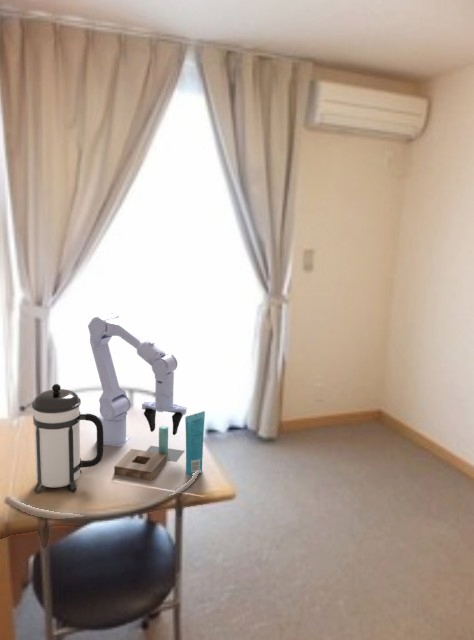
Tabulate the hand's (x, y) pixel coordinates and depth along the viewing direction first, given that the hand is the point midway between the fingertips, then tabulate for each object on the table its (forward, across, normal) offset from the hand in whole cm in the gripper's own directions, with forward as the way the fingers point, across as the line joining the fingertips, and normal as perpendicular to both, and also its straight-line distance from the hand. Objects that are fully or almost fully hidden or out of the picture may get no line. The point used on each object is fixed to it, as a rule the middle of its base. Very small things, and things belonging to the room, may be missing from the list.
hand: (163, 432), depth 165 cm
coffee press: (+8, -21, -25) cm, 34 cm away
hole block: (+8, -3, -11) cm, 14 cm away
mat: (+8, 0, 0) cm, 8 cm away
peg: (+8, 0, 0) cm, 8 cm away
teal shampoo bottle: (+8, +13, -8) cm, 17 cm away
